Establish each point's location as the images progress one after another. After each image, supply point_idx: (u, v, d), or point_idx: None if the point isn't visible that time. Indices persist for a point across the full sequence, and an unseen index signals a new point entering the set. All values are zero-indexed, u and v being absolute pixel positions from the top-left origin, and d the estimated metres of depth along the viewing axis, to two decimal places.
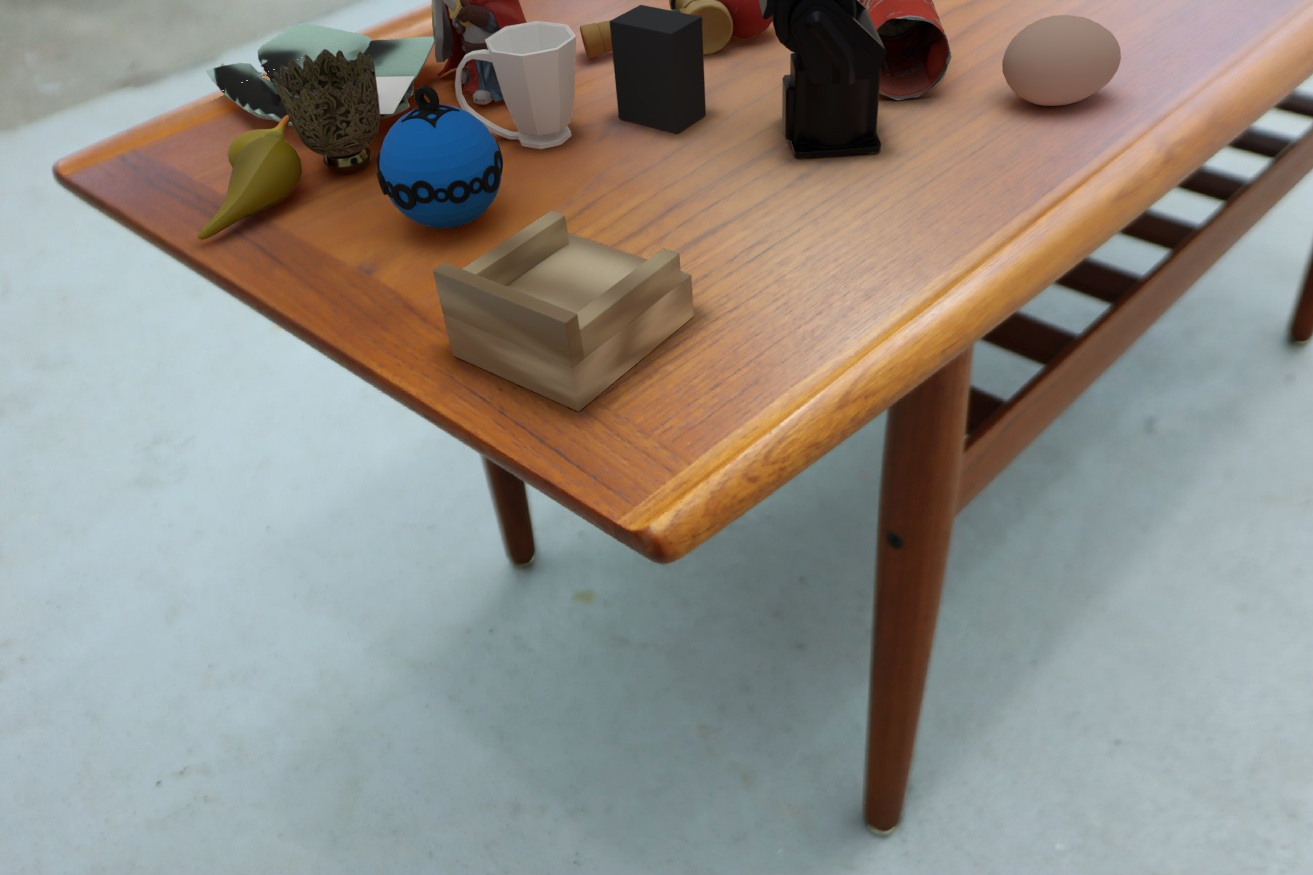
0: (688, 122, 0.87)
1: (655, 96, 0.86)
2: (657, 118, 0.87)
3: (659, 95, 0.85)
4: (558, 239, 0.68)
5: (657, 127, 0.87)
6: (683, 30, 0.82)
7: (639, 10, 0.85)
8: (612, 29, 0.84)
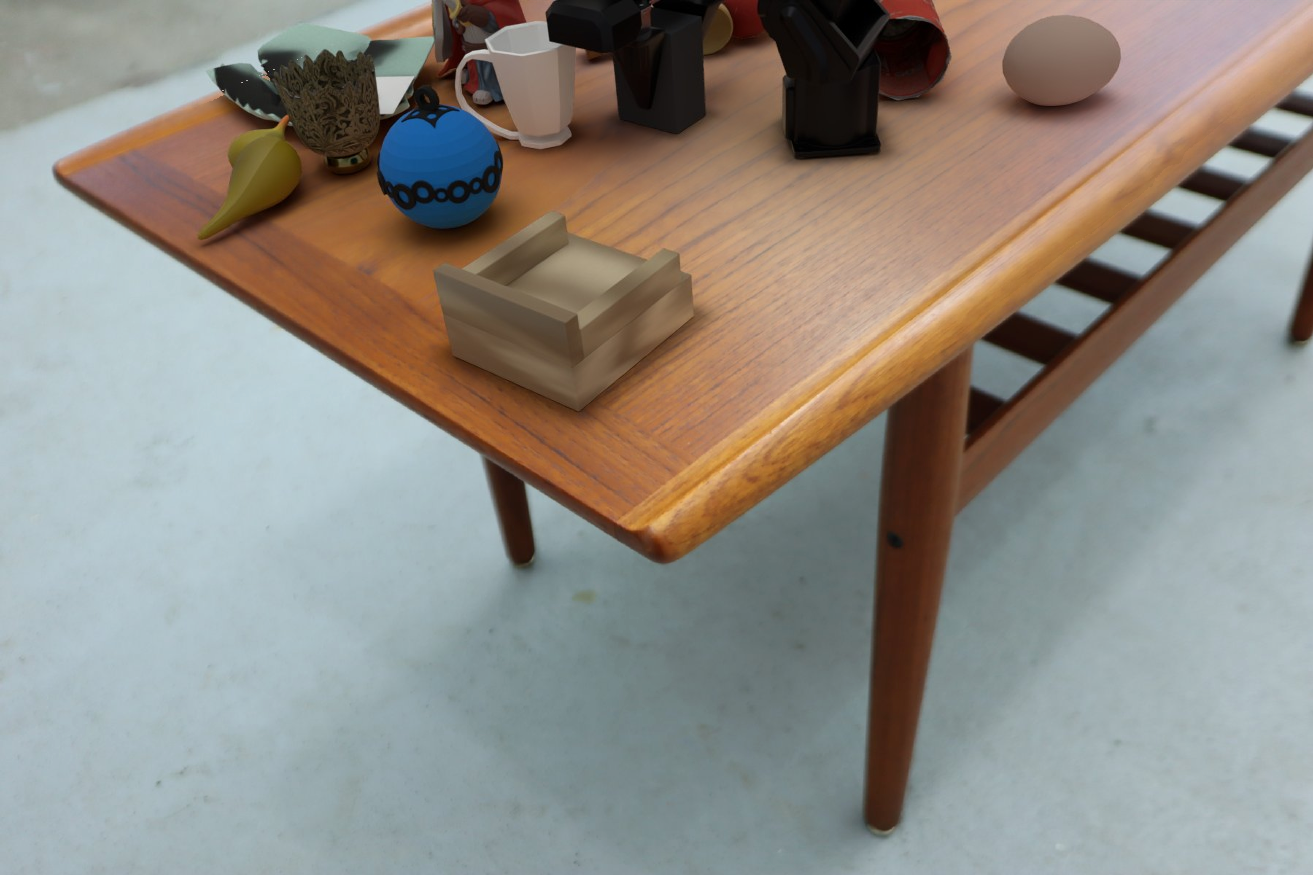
0: (687, 122, 0.87)
1: (655, 96, 0.86)
2: (657, 117, 0.87)
3: (659, 95, 0.85)
4: (558, 239, 0.68)
5: (657, 127, 0.87)
6: (682, 30, 0.82)
7: None
8: None
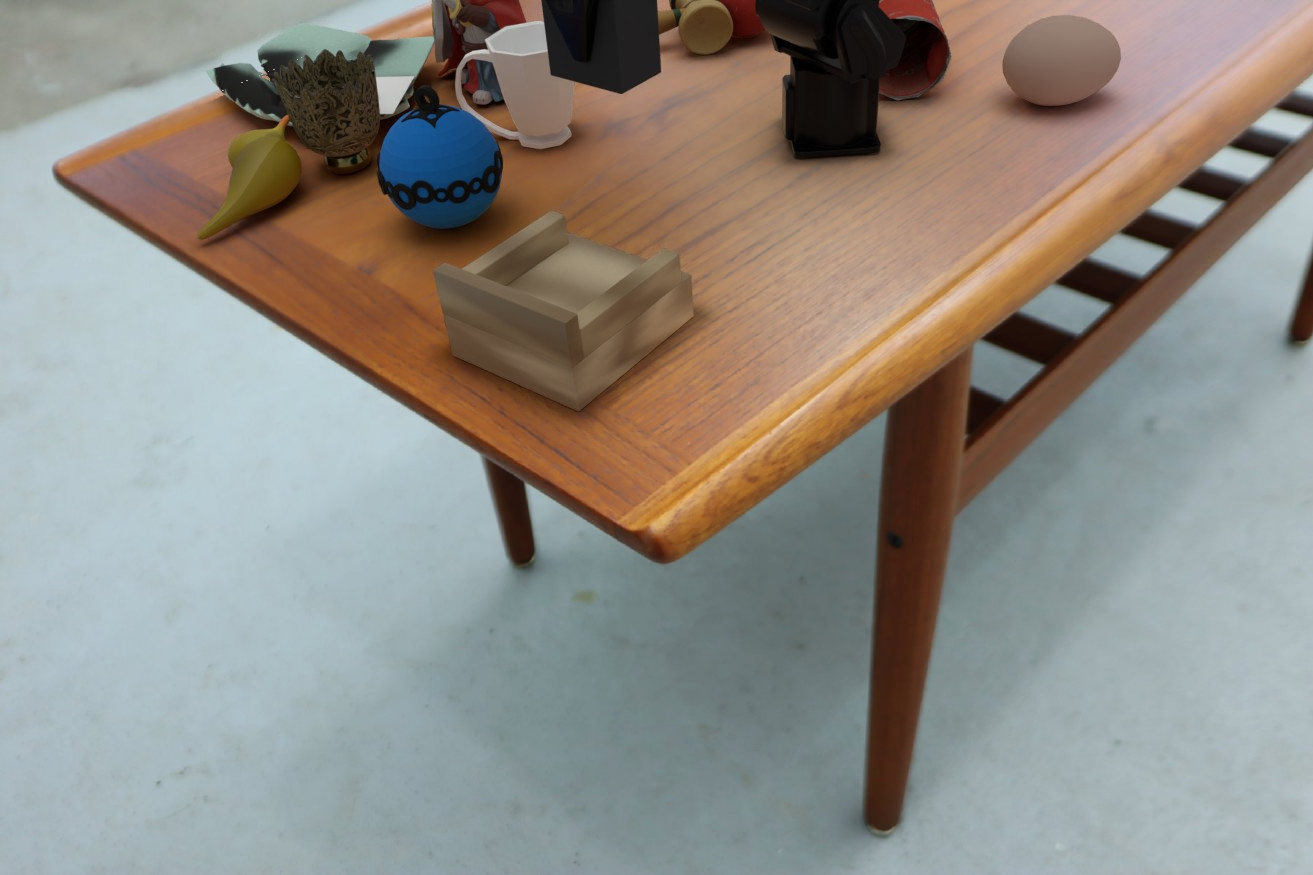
0: (636, 80, 0.68)
1: (593, 45, 0.66)
2: (596, 73, 0.67)
3: (598, 42, 0.66)
4: (558, 239, 0.68)
5: (597, 86, 0.68)
6: None
7: None
8: None
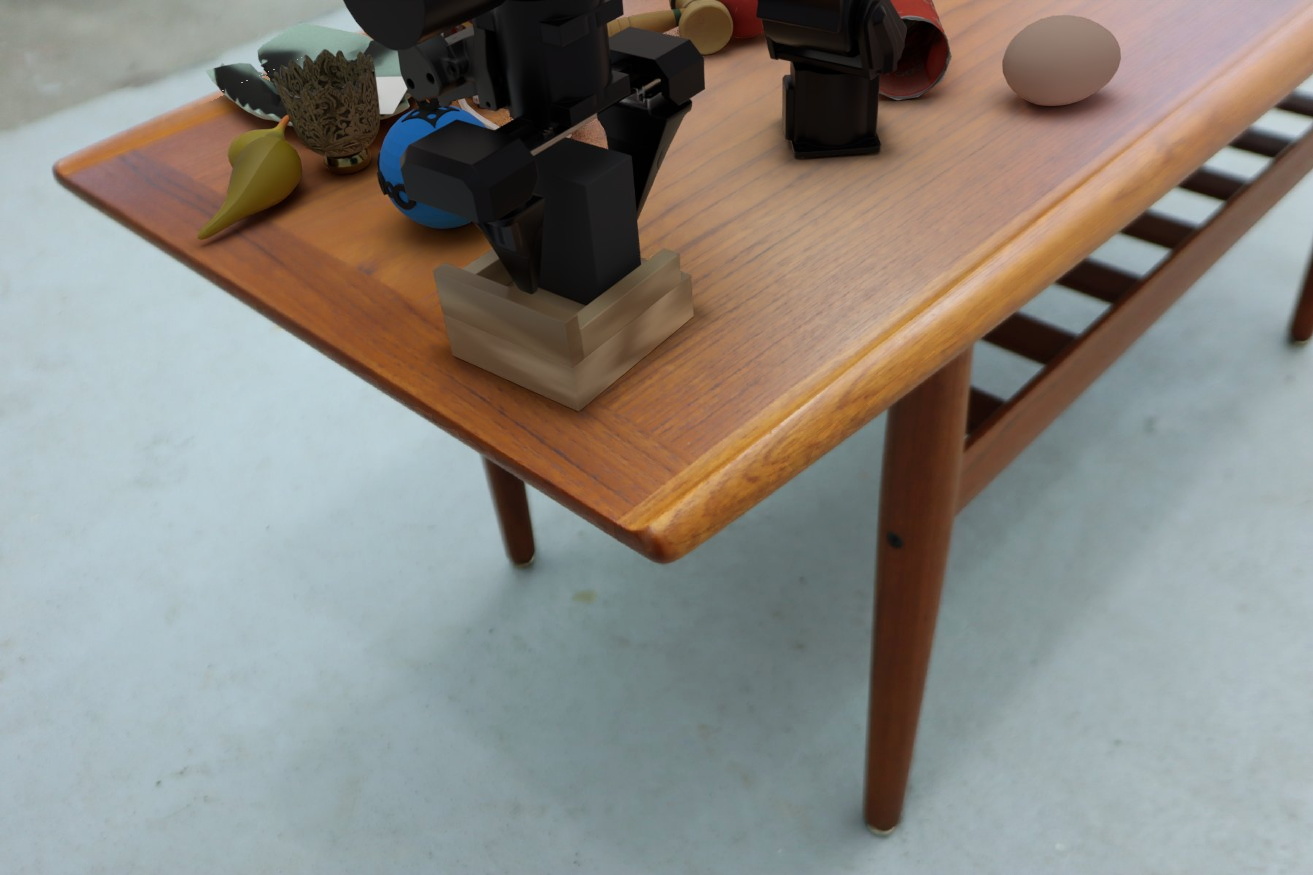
0: None
1: (569, 261, 0.62)
2: (574, 288, 0.63)
3: (575, 260, 0.61)
4: None
5: (574, 299, 0.64)
6: (603, 177, 0.58)
7: None
8: None
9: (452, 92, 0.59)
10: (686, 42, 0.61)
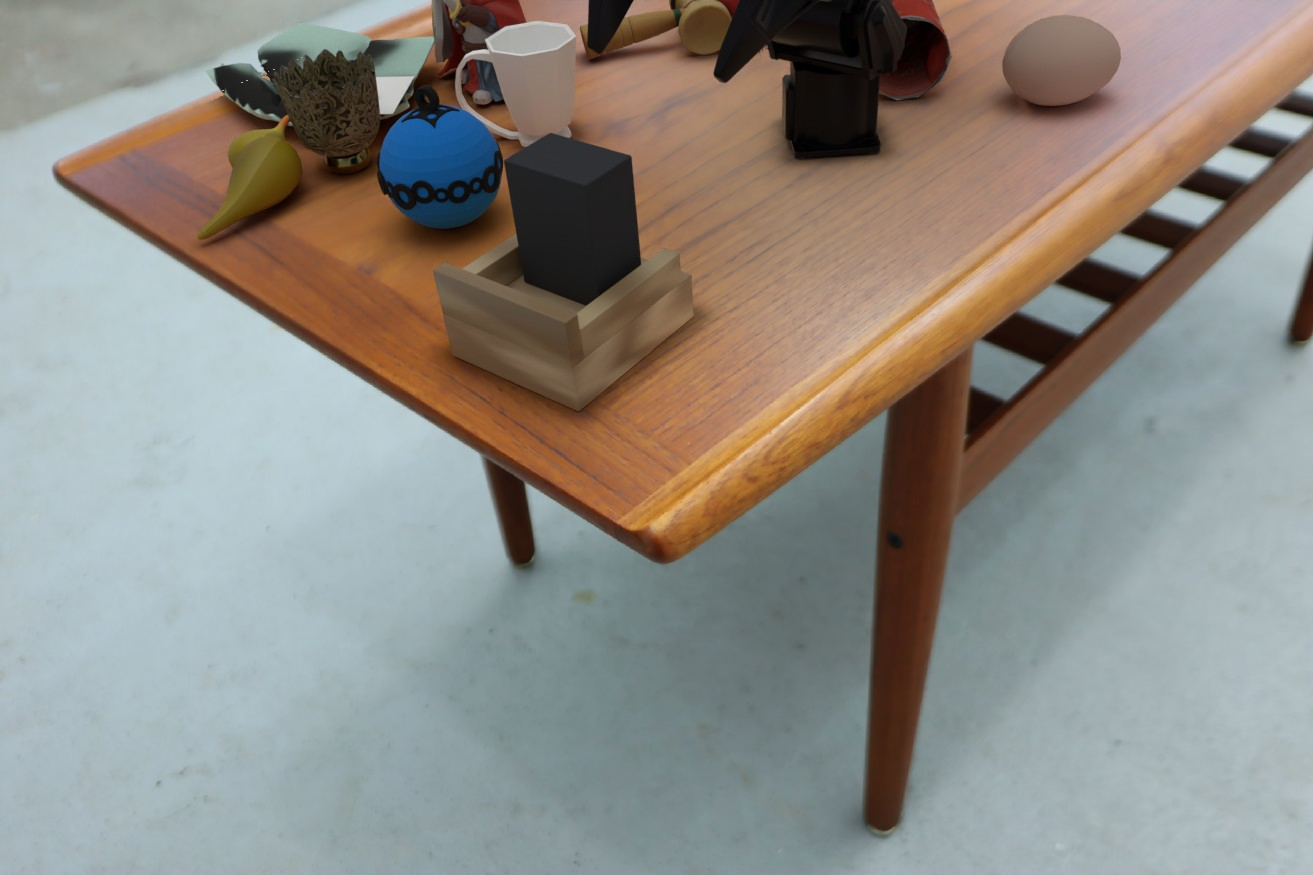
0: None
1: (569, 261, 0.62)
2: (574, 288, 0.63)
3: (575, 260, 0.61)
4: None
5: (574, 299, 0.64)
6: (603, 177, 0.58)
7: (547, 142, 0.62)
8: (508, 171, 0.61)
9: None
10: None
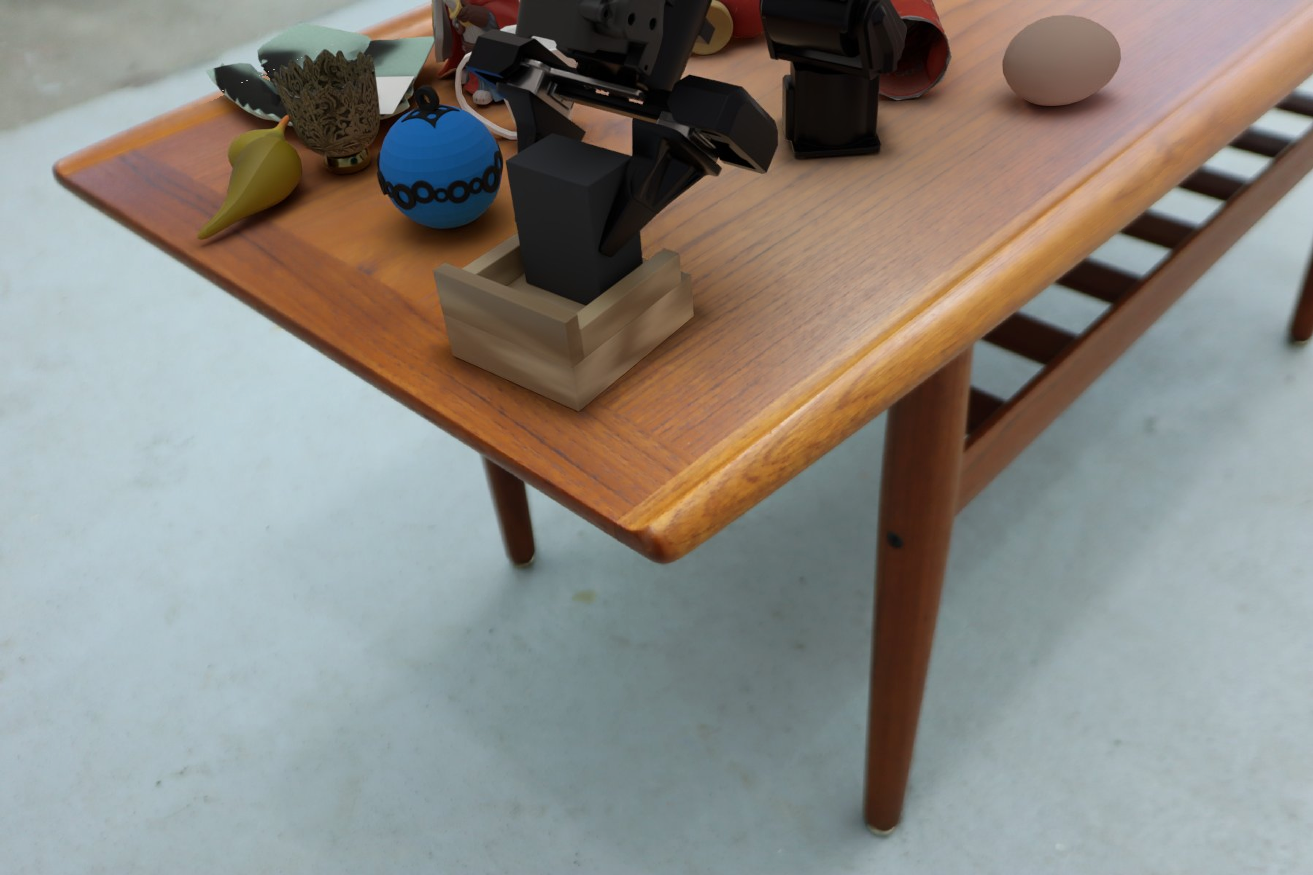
0: None
1: (571, 262, 0.62)
2: (575, 288, 0.63)
3: (576, 261, 0.61)
4: None
5: (576, 300, 0.63)
6: (605, 178, 0.58)
7: (549, 143, 0.62)
8: (509, 171, 0.61)
9: (606, 41, 0.55)
10: None
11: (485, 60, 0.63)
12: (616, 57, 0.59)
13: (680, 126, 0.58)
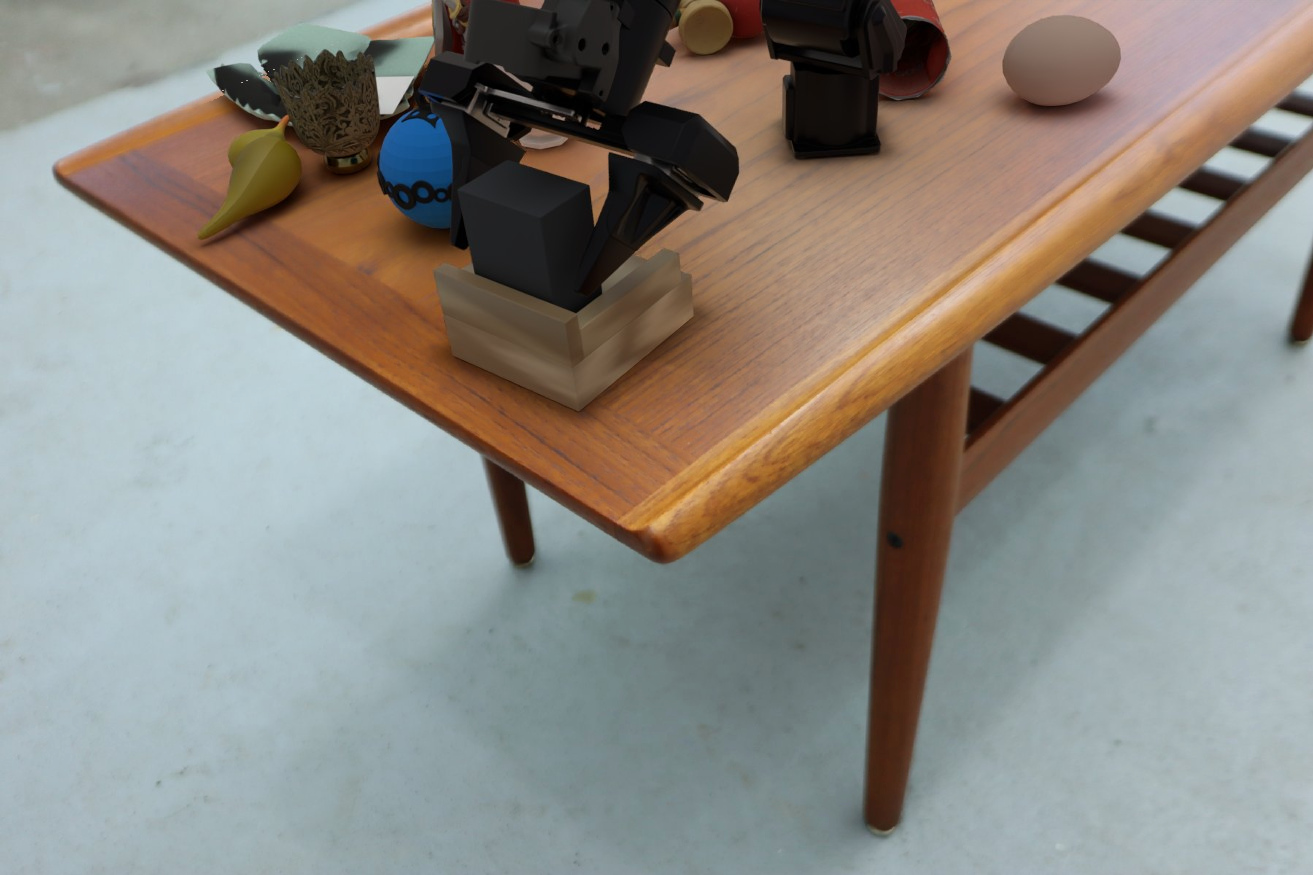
0: None
1: None
2: None
3: (532, 293, 0.59)
4: None
5: None
6: (559, 208, 0.56)
7: (503, 170, 0.59)
8: (462, 200, 0.58)
9: (557, 67, 0.53)
10: None
11: (437, 84, 0.60)
12: (570, 82, 0.56)
13: (659, 160, 0.55)
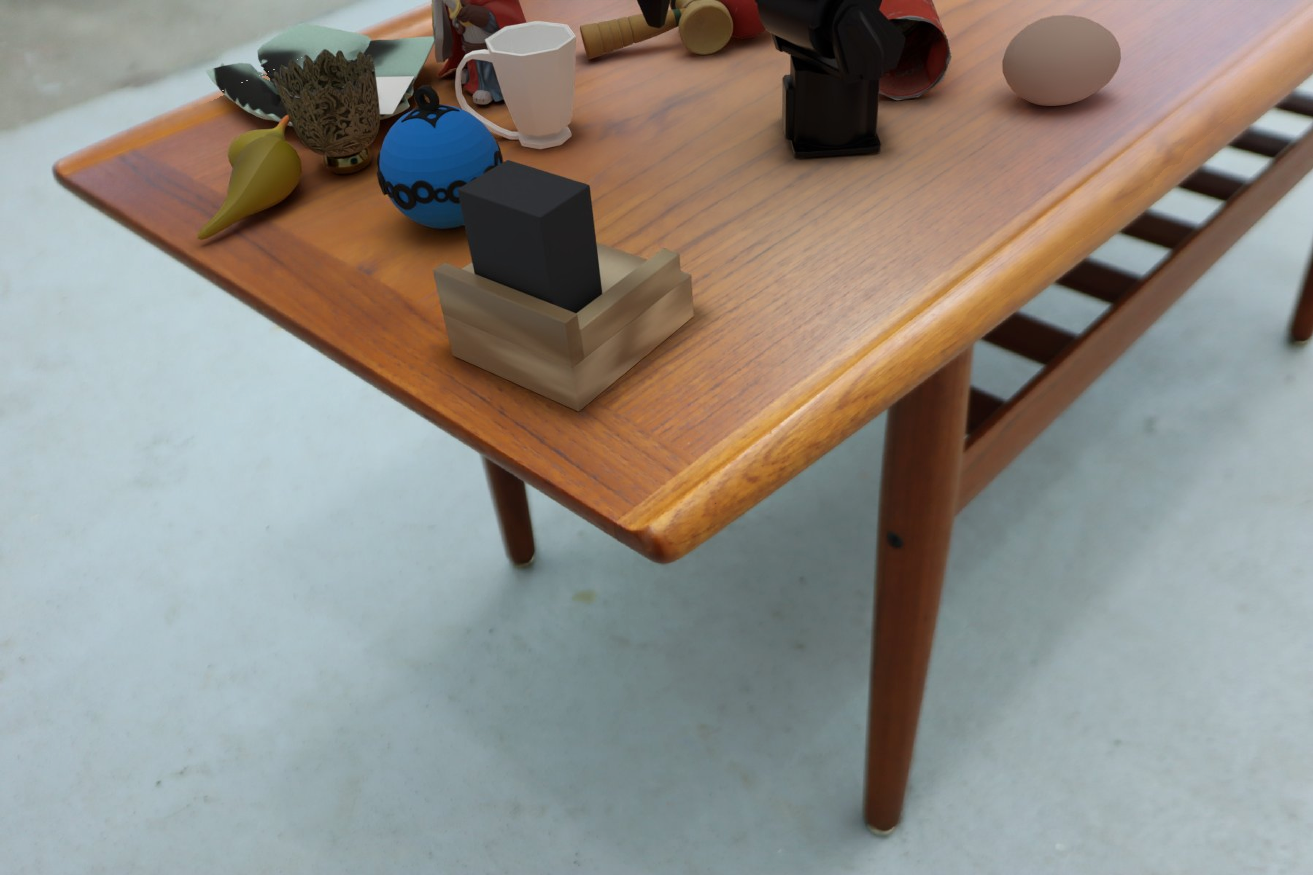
0: None
1: None
2: None
3: (532, 293, 0.59)
4: None
5: None
6: (559, 208, 0.56)
7: (503, 170, 0.59)
8: (462, 200, 0.58)
9: None
10: None
11: None
12: None
13: None
